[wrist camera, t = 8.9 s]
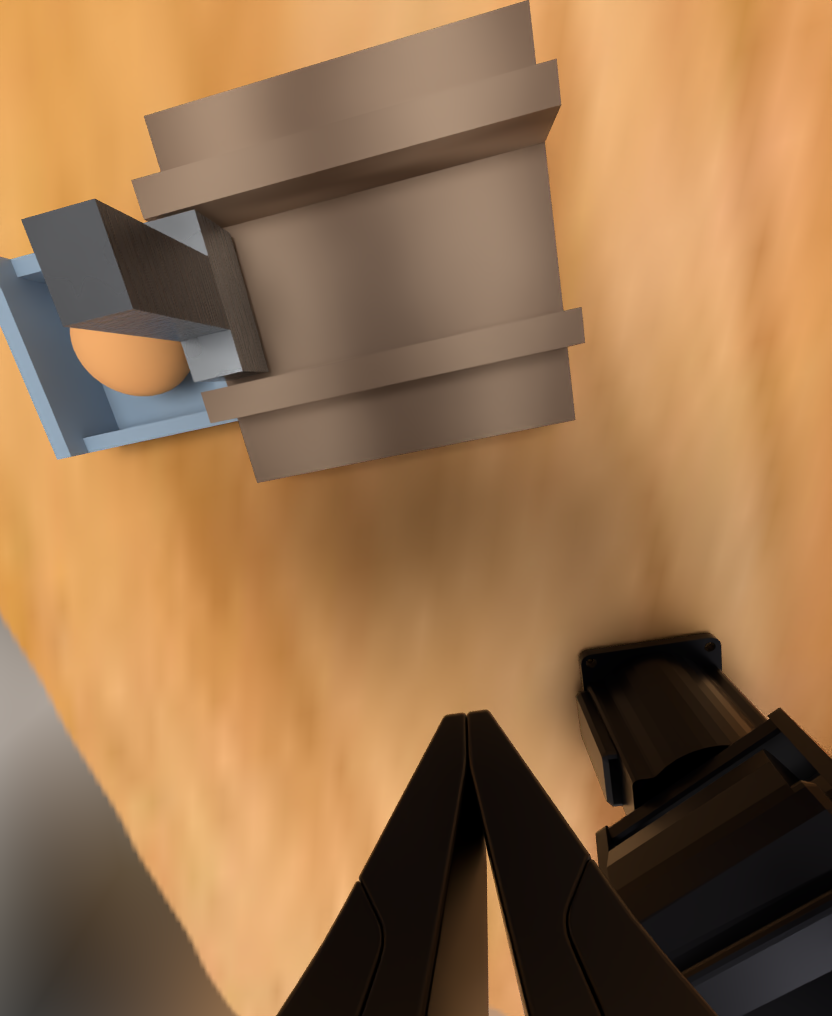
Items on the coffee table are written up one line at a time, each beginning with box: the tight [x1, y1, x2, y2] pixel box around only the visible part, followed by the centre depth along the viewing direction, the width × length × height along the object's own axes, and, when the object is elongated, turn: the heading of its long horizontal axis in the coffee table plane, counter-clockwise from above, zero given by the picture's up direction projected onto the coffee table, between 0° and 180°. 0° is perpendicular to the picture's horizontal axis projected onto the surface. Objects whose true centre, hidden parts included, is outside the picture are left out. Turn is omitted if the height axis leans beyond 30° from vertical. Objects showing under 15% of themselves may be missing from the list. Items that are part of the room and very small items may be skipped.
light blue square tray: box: [0, 253, 238, 460], centre depth 18 cm, size 7×7×4 cm
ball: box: [70, 328, 190, 396], centre depth 17 cm, size 4×4×4 cm
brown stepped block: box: [131, 0, 585, 483], centre depth 16 cm, size 12×12×6 cm
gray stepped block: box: [21, 199, 269, 382], centre depth 12 cm, size 2×4×7 cm, turn 12°
